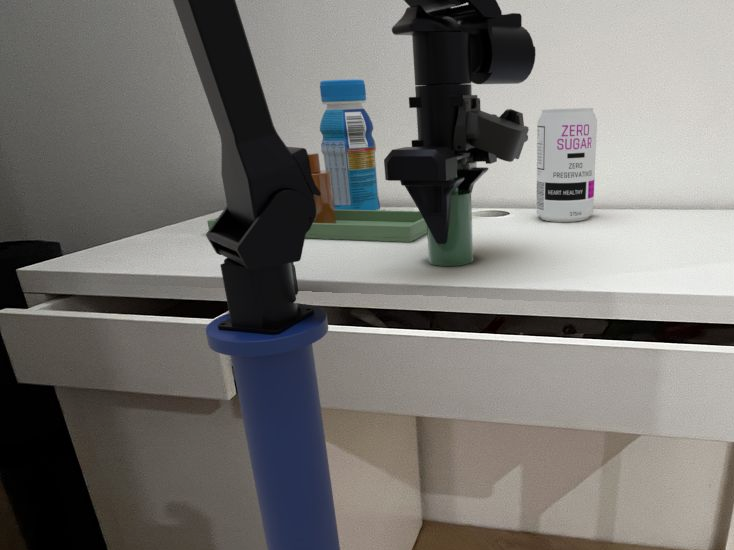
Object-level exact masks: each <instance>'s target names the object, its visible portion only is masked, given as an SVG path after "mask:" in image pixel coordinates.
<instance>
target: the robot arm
mask: <svg viewBox="0 0 734 550" xmlns="http://www.w3.org/2000/svg"><path fill="white" fill-rule="evenodd" d="M172 1H173V5H174V7H175V10H176V13H177V16H178V19H179V22H180V25H181V28H182V30H183V33H184V36H185V39H186V42H187V45H188V47H189V50H190V51H189V52H190V53H191V56H192V59H193V62H194V65H195V68H196V71H197V73H198V76H199V79H200V82H201V85H202V89H203V91H204V93H205V97H206V99H207V103H208V105H209V108H210V111H211V113H212V117H213V119H214V122H215V125H216V129H217V130H218V131H217V132H218V133H219V134H218V135H219V137H220V143H221V179H222V184H223V190H224V196H225V201H226V207H224V209H223V211H222V212H221V213H220V215H218V217H217V218H218V219H217V220H216V221H215V223H214V224H213V225H212V227H211V228H210V229H209V228H208V230H207V232H206V234H205V236H206V239H207V240H208V242H209V244H210V245H211V247H212V249H213V251H214V252H215V254H217V255H220V256H223V257H225V259H224V260H223V263H221V264H220V265H219V267H220V271H221V276H222V283H223V287H224V292H225V298H226V303H227V309H228V313H229V314H230V318H229V319H227V320H225V321H223V322H221V323H219V324H218V325H217V326H218V330H224V331H235V332H246V333H256V334H267V335H278V334H281V333H282V332H284V331H286V330H287V329H289V328H291V327H292V326H294V325H296V324H297V323H299V322H301V321H302V320H304V319H306V318H307V317H309V316H311V315H312V314H314V309H313V308H305V307H299V305H300V304H301V303H300V302H296V301H297V295H298V293H299V286H298V279H297V271H296V266H295V265H294V263H297V262H300V261H301V259H302V255H303V250H304V244H305V239H306V238H305V235H306V233H307V232H308V231H309V230H310V228H311V226H312V224H313V221H314V220H315V219H316V216H317V206H316V200H315V197H314V195H317V196H320V195H321V192H320V191H319V189H318V188H317V187H316V185H315V183H314V181H313V178H312V174H311V168H310V160H309V156H308V153H309V152H308V151H307V149H306V148H304V147H296V146H295V147H294V146H287V145H286V144H285V142H284V141H283V139H282V138H281V136H280V135H279V133H278V132H277V129H276V128H275V125H274V122H273V118H272V115H271V112H270V109H269V105H268V102H267V99H266V96H265V92H264V90H263V89H264V88H263V86H262V83H261V80H260V76H259V74H258V73H259V72H258V70H257V67H256V64H255V60H254V57H253V54H252V50H251V47H250V44H249V40H248V37H247V35H246V31H245V27H244V24H243V21H242V18H241V14H240V11H239V8H238V5H237V4H238V3H237V2H236V0H172ZM403 1H404V3H406V5H408V7H406V8H405V11H404V14H402V16H401V18H400V19H399V20H398V21H397V22H396V23H395V24H393V26H392V27H391V33H392V34H393V35H395V36H410V37H412V40H411V41H412V56H413V58H412V59H413V73H414V89H415V90H414V91H415V96H409V97H408V106H409V109H415V110H416V124H417V138H416V139H412V140H411V146H404V147H399V148H394V149H391V150H390V151H389V153H388V154H387V156H386V157H385V158H384V159H383V165H384V167H383V168H384V178H385V179H384V180H385V181H388V182H390V181H391V182H393V181H395V182H400V185H401V186H403V187H405V189H406V190H407V193H408V194H409V196H410V197H411V199H412V201H413V203H414V204H415V206H416V208H417V209H418V211H420V213H421V215H422V217H423V219H424V220H425V222H426V224H427V226H428V228H429V230H430V232H431V234H432V236H433V238H434V239H435V241H436V243H437V244H445V243H446V242H447V238H448V230H449V219H450V208H451V196H452V193H453V191H454V190H455V189H456V188H457V187H458V189H460V190H469V191H471V194H472V193H473V189H474V186H475V184H476V183H477V182H478V181H479V179H481V177H482V176H483V175H484V174H486V173H487V172H488V171H489V167H479V166H477V163H479V162H480V163H481V162H482V163H485V164H486V165H487V164H488V165H491V164H494V163H497V162H498V159H499V160H502V161H504V162H509V163H512V162H514V160H519V159H520V157H521V154H522V151H523V148H524V145H525V143H526V142H528V140H529V136H528V133H529V131H530V129H529V126H527V125H525V123H524V114H523V112H521V111H517V110H514V109H513V108H507V109H505V110H504V111H503V112H502V114H500V116H498V115H497V114H495V113H489V112H486V111H483V110H481V98H480V97H478V94H473V93H472V92H473V91H472V90H473V88H472V87H473V86H472V84H475V85H516V84H521V83H523V82H525V81H526V80H527V79H528V78H529V77H530V75H531V73H532V71H533V69H534V66H535V63H536V53H537V52H536V46H534V42H533V38H532V36H531V34H530V32H529V31H528V30H527V29H526V28H525V27H524V26H522V20H523V19H522V18H523V17H522V14H521V13H518V12H517V13H516V12H511V13H506V14H505V13H504V14H503V12H502V9H501V7H500V4H499V3H498V1H497V0H403ZM457 171H458V177H455V176H456V172H457Z"/></svg>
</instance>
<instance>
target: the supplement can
mask: <svg viewBox="0 0 734 550" xmlns="http://www.w3.org/2000/svg"><path fill="white" fill-rule="evenodd" d="M536 127H537V129H536V130H537V132H536V157H537V158H536V214H537V216H539V218H540V220H543V221H546V222H551V223H552V222H554V223H573V222H574V223H575V222H581V221H582V222H583V221H585V220H588V219H589V218H590V216H591V215H592V214H593V213H594V201H595V198H594V197H595V181H596V180H595V179H596V178H595V177H596V176H595V175H596V157H597V155H596V154H597V153H596V152H597V132H598V131H597V130H598V119H597V117H596V114H595V112H594V108H593V107H586V108H585V107H582V108H581V107H579V108H575V107H573V108H552V109H551V108H550V109H549V108H548V109H541V114H539V117H538V119H537V122H536Z"/></svg>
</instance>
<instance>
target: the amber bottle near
mask: <svg viewBox="0 0 734 550" xmlns="http://www.w3.org/2000/svg"><path fill="white" fill-rule="evenodd" d="M307 153H308V156H309V160H310V168H311V174H312V178H313V181H314V183H315V185H316V187H317V188H318V189H319V191H320V192H321V195H320V196H317V195H314V197H315V200H316V206H317V216H316V219H315V220H314V221H313V223H334V224H337V223H336V214H335V205H334V196H333V187H332V178H331V172H330V171H325V170H321V164H320V155H319V153H317V152H307Z"/></svg>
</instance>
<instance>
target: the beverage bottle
mask: <svg viewBox="0 0 734 550" xmlns="http://www.w3.org/2000/svg"><path fill="white" fill-rule="evenodd" d="M319 91H320V99H321V102H322V105H326V109H325V110H324V112H323V114H322V117H321V119H320V125H319V132H320V133H321V135H322V140H321V143H320V150H321V153H322V155H323V161H324V171H330V172H331V178H332V187H333V196H334V205H335V209H341V210H381V204H380V198H379V190H378V189H379V188H378V177H377V164H376V150H377V144H376V140H375V139H374V137H373V131H374V124H373V121H372V119H371V117H370V115H369V114H368V112H367V111H366V109H365V108H364V106H363V104H366V102H367V96H366V95H367V93H366V84H365V80H364V79H326V80H321V81H320V82H319Z"/></svg>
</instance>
